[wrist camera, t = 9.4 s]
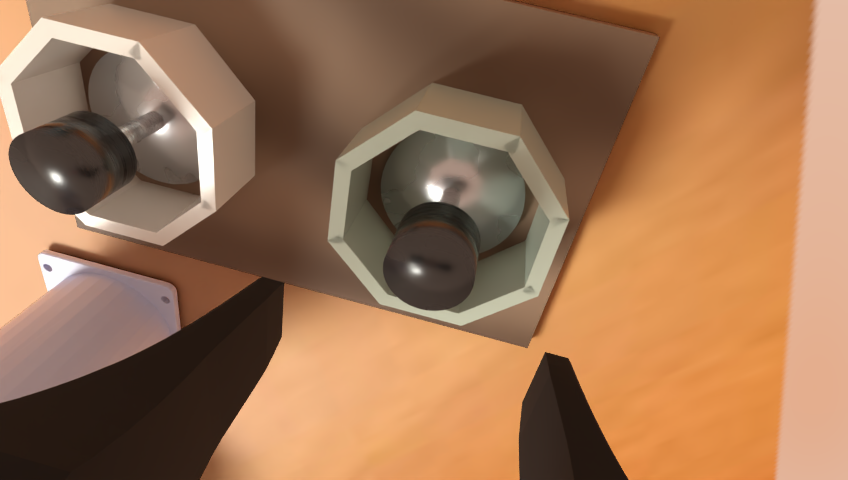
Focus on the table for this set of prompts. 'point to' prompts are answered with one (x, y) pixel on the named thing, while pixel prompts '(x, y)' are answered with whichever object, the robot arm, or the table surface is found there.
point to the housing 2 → (472, 122)
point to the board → (377, 94)
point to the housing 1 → (177, 78)
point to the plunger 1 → (106, 142)
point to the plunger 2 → (445, 215)
